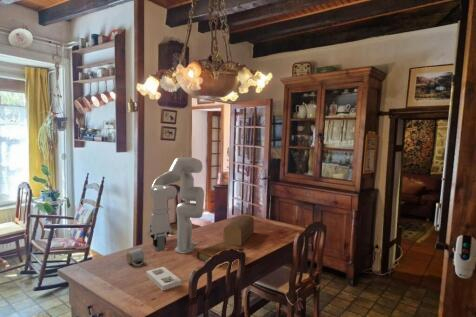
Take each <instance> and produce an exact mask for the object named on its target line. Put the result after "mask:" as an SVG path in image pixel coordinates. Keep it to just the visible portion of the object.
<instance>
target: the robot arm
mask: <svg viewBox="0 0 476 317" xmlns="http://www.w3.org/2000/svg"><path fill="white" fill-rule="evenodd" d="M202 170H203V162H202V161H201V160H200V159H199V158H195V157H187V156H183V157H182V156H180V157H176V158H175V159H174V160H173V162H172V164H171V165H170V167H169V169H168V171H166V172H164V173H163V174H161V175H159V176H158V177H156V178H155V179H154V181H153V183H152V185H151V186H150V188H149V189H150V190H149V196H150V197H151V198H152V212H151V213H150V217H149V223H148V231H147V233H146V235H147V236H148V237H150V238H151V239H152V246H153V247H154V246H155V247H157V239H156V238H157V234H159V233H164V234H165V246H166V244H167V238H168V236H169V235H170V233H171V232H172V231H173V229H172V227H171V223H170V222H171V221H170V215H169V212H168V211H170V208H169V207H168V200H174V199H175V198H176V196H177V194H178V190H177V187H176V186H173V185H171V184H174V183H177V182H179V181H180V188H179V197H180V200H182V201H188V202H180V203H178V204H177V205H176V208H175V212H176V218H177V222H176V223H177V230H176V233H177V235H176V236H177V237H176V240H177V242H176V243H177V244H176V247H175V248H174V252H176V253H178V254H189V253H192V252H193V251H195V246H199V242H198V241H196V242H194V241H193V223H192V220H191V219H201V218H202V217H203V214H204V213H203V212H204V202H205V190H204V188H203V187H201V186H194V185H195V183H194V182H195V178H194V176H193V174H199V173H201V172H202ZM194 202H195V203H194Z"/></svg>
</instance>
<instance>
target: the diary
mask: <svg viewBox="0 0 476 317" xmlns="http://www.w3.org/2000/svg"><path fill="white" fill-rule="evenodd" d="M228 249H235V250H239V251H245V248H243V247H241V246H234V245H231V244H229V243H226V242H223V241H222V242H220V243H217V244H214V245H211V246H208V247H205V248H202V249H199V250H197V251H196V260H197V259H198V260H199V261H202V262H204V261H206V260H208V259H209V258H210V257H212V256H213V255H215V254H216V253H218V252H220V251H223V250H228ZM225 265H227V263H225ZM225 265H224V264H223V266H225ZM220 266H221V265H220ZM221 267H222V266H221Z"/></svg>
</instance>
